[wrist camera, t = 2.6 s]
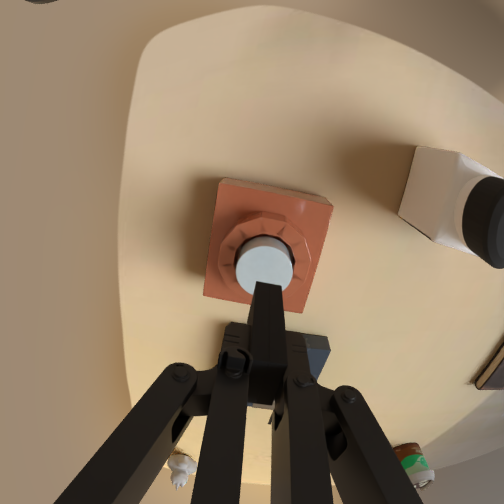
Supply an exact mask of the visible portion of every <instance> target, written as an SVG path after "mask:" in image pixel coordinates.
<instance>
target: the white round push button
mask: <svg viewBox="0 0 504 504" xmlns="http://www.w3.org/2000/svg"><path fill="white" fill-rule="evenodd" d="M292 275H293V268H292V263H291V257H290V253H289V251H288V249H287V247H286V246H285V245H284V244H283V243H282V242H281V241H279V240H277V239H275V238H272V237H267V236H262V237H256V238H254V239H251V240H250V241H248V242H247V243H246V244H245V245H244V246H243V247H242V249H241V250H240V253H239V256H238V260H237V265H236V278H237V281H238V283H239V284H240V286H241V287H242V288H243V289H244V290H245V291H246V292H248V293H250V294H252V295H253V293H254V289H255V284H256V281H259V282H264V283H270V284H275V285H281V286H282V291H283V290H284V289H285V288H286V287H287V286H288V285H289V283H290V281H291V279H292Z"/></svg>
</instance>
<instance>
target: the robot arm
mask: <svg viewBox="0 0 504 504" xmlns="http://www.w3.org/2000/svg"><path fill="white" fill-rule="evenodd" d="M306 347H307V346H306V340H305V338H304V337H303V335H302V334H301V333H299V332H293V331H286V330H285V318H284V306H283V295H282V286H281V285H275V284H270V283H264V282H259V281H256V284H255V289H254V293H253V298H252V302H251V307H250V311H249V316H248V322H247V325H246V324H241V323H235V322H230V323H229V324H228V325H227V326H226V329H225V333H224V338H223V343H222V348H221V352H220V354H219V358H218V364H217V365H216V366H215V367H214V368H212V369H209V370H205V371H196V370H195V369H194V367H192V366H190V365H189V364H185V363H173V364H170V365H169V366H167V367H166V368H165V369H164V371H163V372H162V373H161V374H160V376H159V377H158V378H157V379H156V380H155V382H154V383H153V384H152V385H151V387H150V388H149V389H148V390H147V391H146V393H145V394H144V395H143V396H142V397H141V399H140V400H139V401H138V402H137V404H136V405H135V406H134V407H133V408H132V410H131V411H130V412H129V413H128V415H127V416H126V417H125V418H124V419H123V421H122V422H121V423H120V424H119V426H118V427H117V428H116V429H115V430H114V431H113V433H112V434H111V435H110V436H109V438H108V439H107V440H106V441H105V442H104V444H103V445H102V446H101V447H100V448H99V450H98V451H97V452H96V453H95V454H94V456H93V457H92V458H91V459H90V461H89V462H88V463H87V464H86V465H85V467H84V468H83V469H82V470H81V471H80V472H79V474H78V475H77V476H76V477H75V478H74V480H73V481H72V482H71V483H70V484H69V486H68V487H67V488H66V489H65V490H64V492H63V493H62V494H61V495H60V496H59V498H58V499H57V500H56V501H55V502H54V504H139V503H140V501H141V499H142V498H143V496H144V495H145V493H146V492H147V490H148V489H149V487H150V486H151V484H152V483H153V481H154V479H155V478H156V476H157V475H158V473H159V472H160V470H161V469H162V467H163V465H164V464H165V462H166V461H167V459H168V457H169V456H170V454H171V453H172V451H173V449H174V448H175V446H176V445H177V443H178V441H179V440H180V438H181V436H182V435H183V433H184V432H185V430H186V428H187V427H188V425H189V423H190V422H191V420H192V418H193V416H205V415H207V420H206V425H205V431H204V436H203V441H202V446H201V451H200V456H199V462H198V467H197V472H196V477H195V483H194V489H193V493H192V499H191V504H239V498H240V487H241V475H242V463H243V450H244V438H245V425H246V413H247V402H248V403H255V404H263V405H271V406H272V405H273V402H274V400H275V408H274V410H273V412H272V415H271V417H270V419H269V422H268V424H271V422H272V456H271V504H333V495H332V486H331V477H330V473H331V475H332V478H333V480H334V483H335V485H336V487H337V490H338V492H339V495H340V497H341V499H342V502H343V504H423V502H422V500H421V499H420V497H419V495H418V493H417V491H416V489H415V488H414V486H413V484H412V482H411V480H410V478H409V477H408V475H407V473H406V471H405V469H404V468H403V466H402V464H401V462H400V461H399V459H398V457H397V455H396V453H395V452H394V450H393V448H392V446H391V445H390V443H389V441H388V439H387V438H386V436H385V434H384V432H383V431H382V429H381V427H380V425H379V424H378V422H377V420H376V418H375V417H374V415H373V413H372V411H371V410H370V408H369V406H368V405H367V403H366V401H365V399H364V398H363V396H362V394H361V393H360V392H359V391H358V390H357V389H355V388H354V387H351V386H344V385H343V386H340V387H338V388H337V389H336V390H335V391H334V390H331V389H328V388H325V387H323V386H321V385H319V384H318V383H317V381H316V378H315V377H314V376H313V375H312V374H311V372H310V365H309V359H308V354H307V348H306Z"/></svg>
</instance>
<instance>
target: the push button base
mask: <svg viewBox="0 0 504 504" xmlns="http://www.w3.org/2000/svg"><path fill="white" fill-rule="evenodd" d="M301 334H302V333H301ZM302 335H303V337H304V338H305V340H306V346H307V347H306V348H307V354H308V359H309V365H310V372H311V374H312V375H313V376H314V377H315V378H316V381H317V379H318V377H319V375H320V373H321V371H322V369H323V367H324V364H325V362H326V360H327V358H328V356H329V354H330V351H331V349H330V346H329V342H328V338H327V337H324V336H316V335H309V334H302ZM247 406H251V407H252V403H248V402H247Z"/></svg>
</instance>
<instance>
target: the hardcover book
mask: <svg viewBox="0 0 504 504" xmlns="http://www.w3.org/2000/svg"><path fill="white" fill-rule="evenodd" d="M475 386H476V388H477V389H478V390H502V389H504V342H503V344H502V345H501V347H500V348H499V350H498V351H497V353H496V354H495V356H494V357H493V358H492V360H491V361H490V362H489V364H488V365H487V366H486V368H485V369H484V370H483V372H482V373H481V374H480V375H479V377H478V378H477V379H476V381H475Z"/></svg>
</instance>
